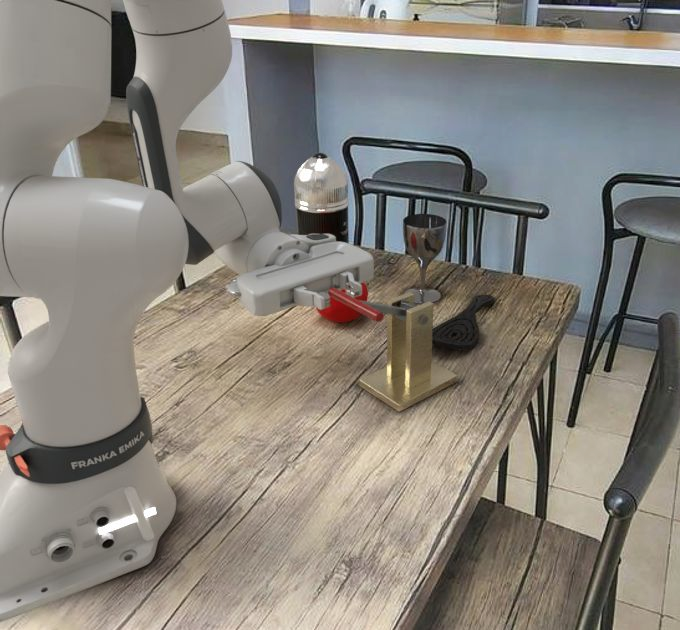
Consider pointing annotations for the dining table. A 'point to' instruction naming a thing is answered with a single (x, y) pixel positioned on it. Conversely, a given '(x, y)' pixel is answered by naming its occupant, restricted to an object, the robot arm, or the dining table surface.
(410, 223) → the metal goblet
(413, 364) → the bracket
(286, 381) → the dining table surface
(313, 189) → the black silver domed canister
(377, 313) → the lever
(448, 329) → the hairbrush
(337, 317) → the tomato
